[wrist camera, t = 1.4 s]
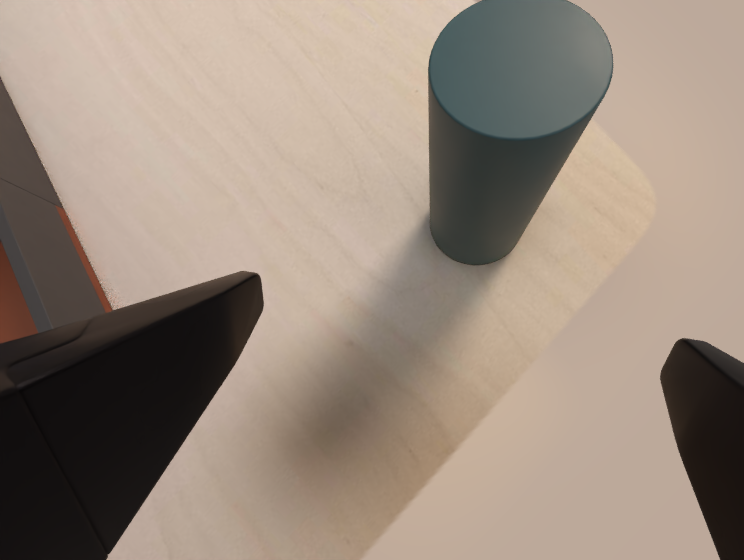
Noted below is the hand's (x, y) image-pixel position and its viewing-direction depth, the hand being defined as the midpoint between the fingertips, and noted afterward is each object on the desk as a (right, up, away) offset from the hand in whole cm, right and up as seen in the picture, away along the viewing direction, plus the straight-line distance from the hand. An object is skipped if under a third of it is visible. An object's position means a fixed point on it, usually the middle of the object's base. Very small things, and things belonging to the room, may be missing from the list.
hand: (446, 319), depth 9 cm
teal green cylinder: (+4, +4, +14) cm, 16 cm away
